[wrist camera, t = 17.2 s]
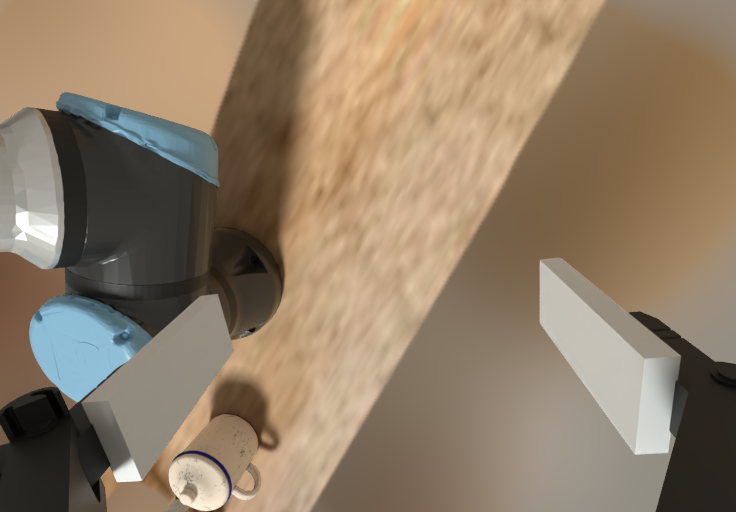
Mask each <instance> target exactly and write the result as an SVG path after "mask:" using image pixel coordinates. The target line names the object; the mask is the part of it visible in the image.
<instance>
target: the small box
mask: <svg viewBox="0 0 736 512" xmlns="http://www.w3.org/2000/svg"><path fill="white" fill-rule="evenodd" d="M165 512H209V511H201V510H197V509H194V508H192V507H190V506H188V505H184V504H182V503H181V501H180V499H176V500H174V501H173V503H172V504H171V505H170V506H169V508H168V509H167V510H166V511H165Z"/></svg>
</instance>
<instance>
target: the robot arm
mask: <svg viewBox="0 0 736 512" xmlns="http://www.w3.org/2000/svg"><path fill="white" fill-rule="evenodd" d="M56 107H57V109H58V110H59V111H52V110H45V109H38V108H31V107H26V108H23V109H22V110H20V111H19V112H17V113H16V114H14V115H13V116H11V117H10V118H8V119H7V120H6V121H4V122H3V123H1V124H0V252H7V251H9V252H13V253H16V254H18V255H20V256H21V257H23V258H25V259H27V260H28V261H30V262H32V263H33V264H35V265H37V266H38V267H40V268H42V269H52V268H63V267H65V295H59V296H56V297H53V298H51V299H50V300H48V301H47V303H46V304H44V305H43V306H41V308H40V310H39V311H37V312H36V313H35V314H34V316H33V318H32V320H31V323H30V331H29V334H30V343H31V347H32V350H33V353H34V355H35V357H36V360H37V362H38V363H39V365H40V367H41V368H42V370H43V371H44V373H45V374H46V375H47V377H48V378H49V379H50V380H51V381H52V382H53V383H54V384H55V385H56V386H57V387H58V388H59V389H60V390H61V391H62V392H63V393H65V394H66V395H67V396H69V397H70V398H71V399H73V400H75V401H76V402H78V403H77V404H76V405H75V406H73V408H71V409H70V410H68V408H67V406H66V404H65V401H64V399H63V397H62V395H61V393H60V391H59V389H58V388H56V387H48V388H42V389H39V390H35V391H32V392H30V393H27V394H25V395H23V396H21V397H19V398H17V399H15V400H14V401H12V402H10V403H9V404H7V405H6V406H5V407H3V408H2V409H1V410H0V425H1V426H2V428H3V430H4V432H5V434H6V435H7V437H8V439H9V441H10V443H8V444H4V445H1V446H0V512H107V507H106V495H105V487H104V485H103V482H102V480H101V478H100V477H101V476H102V475H103V473H104V472H105V471H106V470H107V469H108V467H109V466H110V467H111V470H112V472H113V474H114V476H115V478H116V481H117V482H128V481H142V480H143V479H144V477H145V476H146V475H147V473H148V472H149V470H150V469H151V467H152V466H153V465H154V463H155V462H156V460H157V459H158V457H159V456H160V455H161V453H162V452H163V450H164V449H165V448H166V446H167V445H168V443H169V442H170V440H171V439H172V438H173V436H174V435H175V433H176V432H177V430H178V429H179V428H180V426H181V425H182V423H183V422H184V421H185V419H186V418H187V416H188V415H189V413H190V412H191V411H192V409H193V408H194V406H195V405H196V404H197V402H198V401H199V399H200V398H201V396H202V395H203V394H204V392H205V391H206V389H207V388H208V386H209V385H210V384H211V382H212V381H213V379H214V378H215V377H216V375H217V374H218V372H219V371H220V369H221V368H222V367H223V365H224V364H225V362H226V361H227V359H228V358H229V357H230V355H231V354H232V352H233V351H234V349H233V346H232V342H231V341H232V340H236V339H240V338H244V337H247V336H249V335H251V334H253V333H255V332H257V331H258V330H259V329H261V328H262V327H263V326H264V325H265V324H266V323H267V322H268V321H269V320H270V319H271V318H272V317H273V316H274V314H275V312H276V311H277V309H278V306H279V303H280V300H281V293H282V284H281V277H280V273H279V270H278V267H277V265H276V263H275V261H274V259H273V257H272V256H271V254H270V253H269V251H268V250H267V249H266V248H265V247H264V246H263V245H262V244H261V243H260V242H259V241H258V240H256V239H255V238H254V237H252V236H250V235H249V234H247V233H245V232H242V231H239V230H236V229H231V228H216V229H214V225H215V212H216V199H217V188H220V182H219V181H218V158H219V153H218V147H217V145H216V143H215V141H214V140H213V139H212V138H211V137H210V136H209V135H208V134H206V133H204V132H203V131H200V130H197V129H194V128H191V127H188V126H185V125H181V124H178V123H175V122H171V121H168V120H165V119H162V118H158V117H155V116H151V115H148V114H144V113H141V112H137V111H134V110H130V109H127V108H123V107H119V106H116V105H112V104H108V103H105V102H102V101H98V100H95V99H92V98H88V97H84V96H81V95H77V94H73V93H67V92H66V93H62V94H61V95H60V98H59V101H57V102H56ZM540 324H541V325H542V327H543V328H544V329H545V331H546V332H547V334H548V335H549V336H550V338H551V339H552V340H553V342H554V343H555V344H556V346H557V347H558V349H559V350H560V352H561V353H562V354H563V356H564V357H565V358H566V360H567V361H568V363H569V364H570V365H571V367H572V368H573V370H574V371H575V372H576V374H577V375H578V376H579V378H580V379H581V381H582V382H583V383H584V385H585V386H586V387H587V389H588V390H589V391H590V393H591V394H592V396H593V397H594V398H595V400H596V401H597V403H598V404H599V405H600V407H601V408H602V410H603V411H604V412H605V414H606V415H607V416H608V418H609V419H610V421H611V422H612V423H613V425H614V426H615V428H616V429H617V430H618V432H619V433H620V435H621V436H622V437H623V439H624V440H625V441H626V443H627V444H628V445H629V447H630V448H631V450H632V451H633V452H634V454H653V453H668V450H669V443H670V435H671V433H672V434H673V435H674V437H675V438H676V440H675V443H674V447H673V451H672V454H671V458H670V462H669V465H668V469H667V473H666V476H665V480H664V484H663V487H662V491H661V494H660V498H659V502H658V505H657V509H656V512H736V364H732V363H726V362H714V361H713V360H712V359H711V358H709V357H708V356H707V355H705V354H704V353H702V352H701V351H700V350H699V349H697V348H696V347H694V346H693V345H692V344H691V343H689V342H688V341H687V340H685V339H683V338H681V336H680V335H679V334H677V333H676V332H675V331H673V330H671V329H670V328H669V327H668V326H667V325H665V324H664V323H662V322H661V321H660V320H659V319H657V318H654V317H652V316H649V315H647V314H644V313H642V312H630V313H628V312H627V311H625V310H624V309H623V308H622V307H620V306H619V305H618V304H617V303H615V302H614V301H613V300H612V299H611V298H609V297H608V296H607V295H606V294H605V293H603V292H602V291H601V290H600V289H598V288H597V287H596V286H595V285H593V284H592V283H591V282H590V281H589V280H587V279H586V278H585V277H583V275H581V274H580V273H579V272H578V271H576V270H575V269H574V268H573V267H571V266H570V265H569V264H568V263H567V262H565V261H564V260H563V259H562V258H552V259H543V260H540Z"/></svg>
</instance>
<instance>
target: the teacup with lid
mask: <svg viewBox="0 0 736 512" xmlns="http://www.w3.org/2000/svg"><path fill="white" fill-rule="evenodd" d="M257 449H258V439H257V435H256V433H255V431H254V429H253V428H252V427H251V425H250V424H249V423H248V422H246V421H245V420H244V419H242V418H240V417H238V416H235V415H230V414H223V415H219V416H217V417H215V418H214V419H212V420H211V421H210V422H209V423H208V425H207V426H206V427H205V428H204V429H203V430H202V431H201V432H200V433H199V435H198V436H197V437H196V438H195V439H194V440H193V441H192V442H191V443H190V445H189V446H188V447H187V448H186V449H185V450H184V451H183V452H182V453H180V454H179V455H177V456H176V457H175V459H174V460H173V461H172V464H171V466H170V469H169V482H170V485H171V488H172V490H173V491H174V493H175V494H176V496H177V497H178V498H179V499H180V501H181V503H182V504H184V505H188V506H190V507H192V508H194V509H197V510H201V511H211V510H215V509H217V508H219V507H221V506H222V505H224V504H225V503H226V502H227V501H228V499H229V498H230V495H231V493H232V494H233V495H234V496H236V497H237V498H239V499H243V500H248V499H251V498H253V497H254V496H255V495H256V494H257V492H258V491H259V488H260V485H261V475H260V472H259V470H258V469H257V468H256V467H255V466H254V465H253V464H252V463H251V461H252V459H253V457H254V456H255V454H256V452H257ZM245 470H247V471H248V472H250V473H251V474H252V476H253V478H254V481H255V485H254V489H253V490H252V491H244V490H242V489H241V488H239V487H238V486H236V484H237V482H238V481H239V479H240V477H241V476H242V474H243V473H244V471H245Z"/></svg>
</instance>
